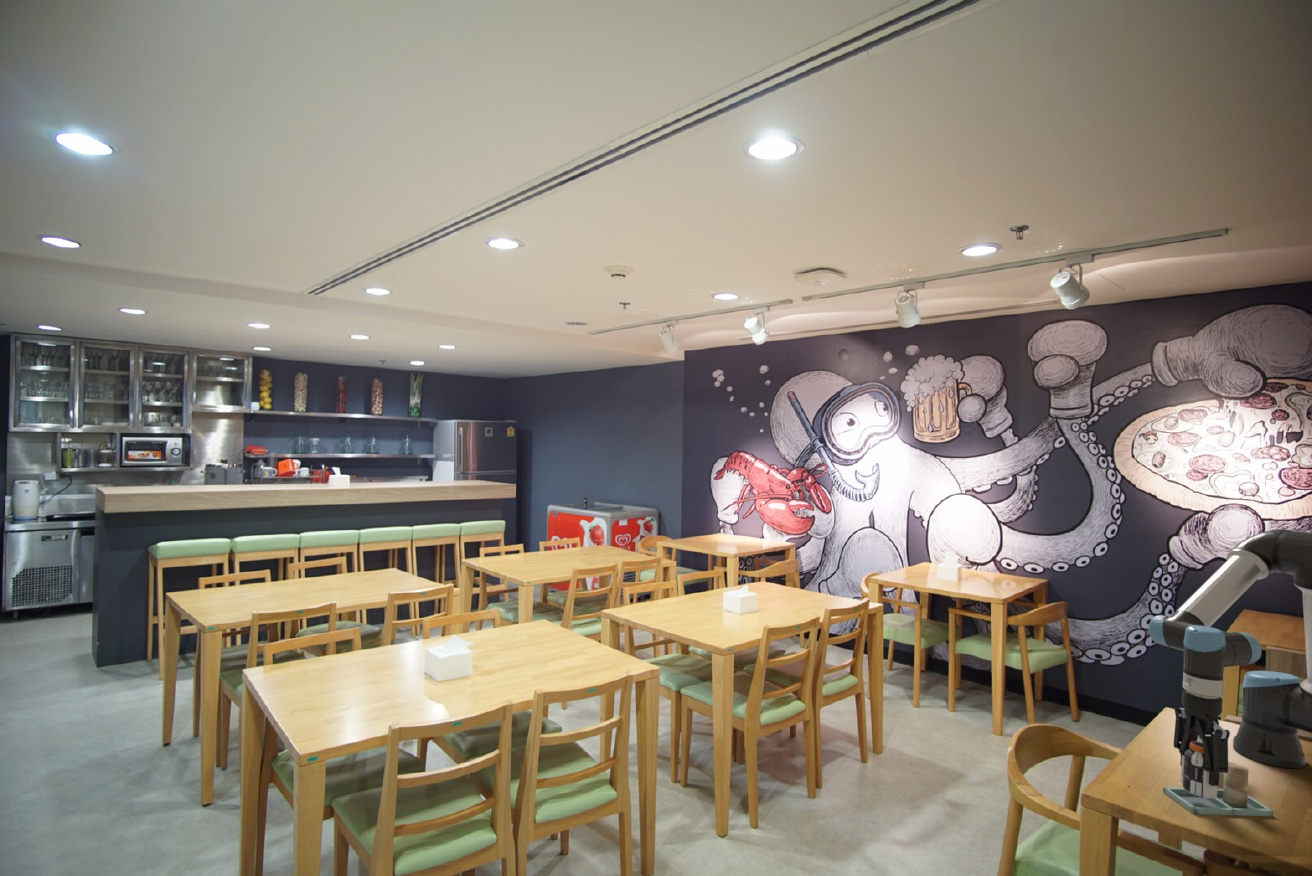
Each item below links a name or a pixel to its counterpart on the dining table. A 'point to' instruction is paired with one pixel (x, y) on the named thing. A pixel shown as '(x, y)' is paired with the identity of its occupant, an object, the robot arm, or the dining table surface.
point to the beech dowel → (1236, 786)
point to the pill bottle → (1194, 768)
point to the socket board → (1215, 804)
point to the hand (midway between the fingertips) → (1198, 789)
